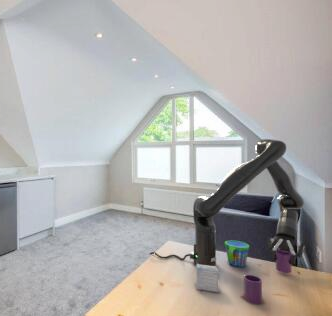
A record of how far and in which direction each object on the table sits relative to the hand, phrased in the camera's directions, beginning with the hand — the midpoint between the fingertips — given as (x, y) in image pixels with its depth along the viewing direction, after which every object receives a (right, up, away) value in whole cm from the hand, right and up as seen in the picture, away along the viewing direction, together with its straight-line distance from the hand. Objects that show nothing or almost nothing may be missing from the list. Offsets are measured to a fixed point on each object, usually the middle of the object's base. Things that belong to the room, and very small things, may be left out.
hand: (282, 261), depth 110 cm
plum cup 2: (+1, -4, +1) cm, 5 cm away
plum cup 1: (-25, -7, -18) cm, 31 cm away
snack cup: (-14, -6, +12) cm, 19 cm away
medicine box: (-38, -7, -10) cm, 40 cm away
